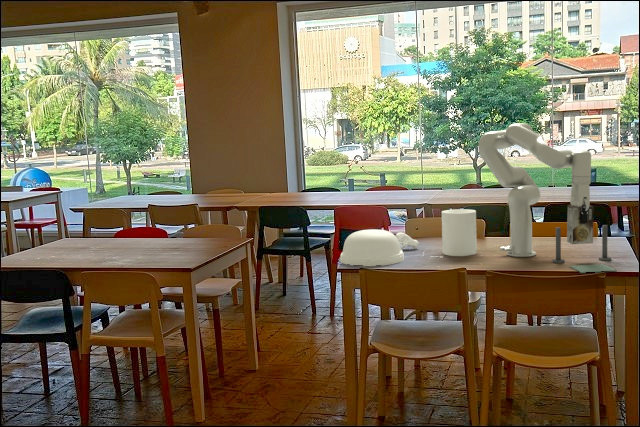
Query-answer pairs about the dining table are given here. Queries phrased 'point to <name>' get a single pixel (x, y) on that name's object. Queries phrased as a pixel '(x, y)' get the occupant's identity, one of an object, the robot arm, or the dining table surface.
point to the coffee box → (579, 226)
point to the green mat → (592, 268)
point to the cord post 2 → (604, 245)
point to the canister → (459, 232)
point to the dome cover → (371, 248)
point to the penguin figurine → (406, 241)
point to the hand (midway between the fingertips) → (580, 221)
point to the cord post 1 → (558, 247)
